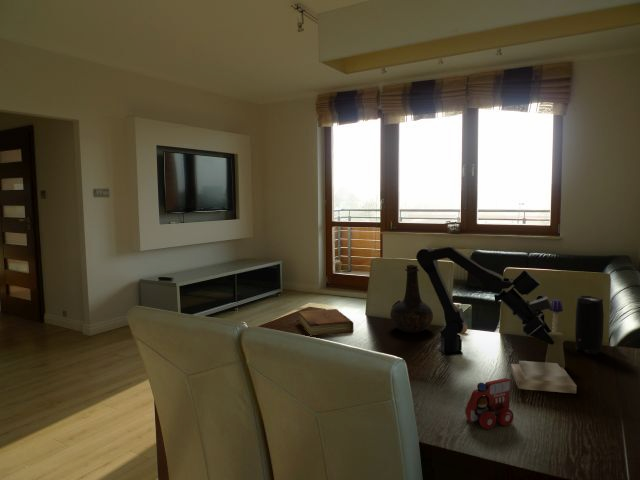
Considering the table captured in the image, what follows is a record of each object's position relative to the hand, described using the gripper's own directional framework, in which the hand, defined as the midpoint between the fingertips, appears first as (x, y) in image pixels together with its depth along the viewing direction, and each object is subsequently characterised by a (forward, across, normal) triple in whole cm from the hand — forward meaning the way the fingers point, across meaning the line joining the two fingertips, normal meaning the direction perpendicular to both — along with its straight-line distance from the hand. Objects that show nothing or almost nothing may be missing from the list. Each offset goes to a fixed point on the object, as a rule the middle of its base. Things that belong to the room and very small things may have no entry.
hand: (553, 339), depth 149 cm
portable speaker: (+14, +20, -2) cm, 25 cm away
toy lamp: (+7, +26, +5) cm, 28 cm away
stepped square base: (+4, -17, +8) cm, 19 cm away
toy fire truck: (-4, -50, +16) cm, 53 cm away
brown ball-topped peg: (+7, 0, +6) cm, 9 cm away
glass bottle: (-32, +23, +44) cm, 59 cm away
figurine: (-18, +27, +30) cm, 44 cm away
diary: (-57, +12, +69) cm, 90 cm away
